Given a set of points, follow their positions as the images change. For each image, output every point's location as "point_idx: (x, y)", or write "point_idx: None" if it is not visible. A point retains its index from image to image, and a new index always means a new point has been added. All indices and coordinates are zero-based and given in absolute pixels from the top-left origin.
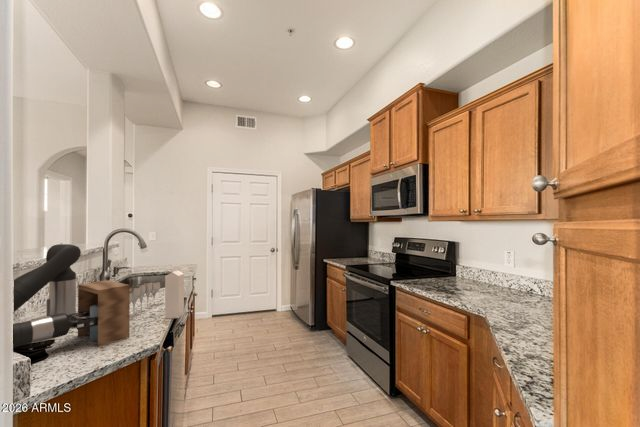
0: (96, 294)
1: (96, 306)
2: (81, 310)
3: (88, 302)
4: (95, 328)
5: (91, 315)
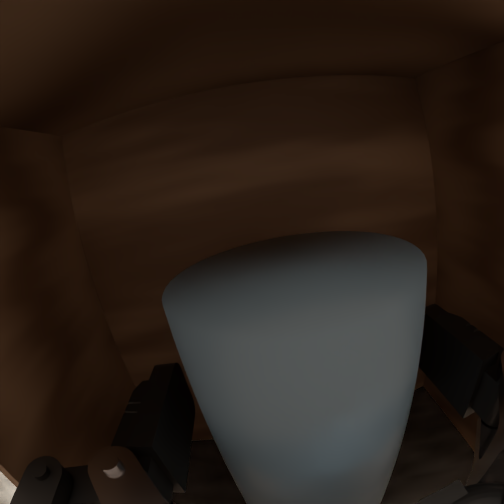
0: (25, 219)
1: (330, 278)
2: (4, 432)
3: (1, 318)
4: (388, 481)
5: (366, 435)
